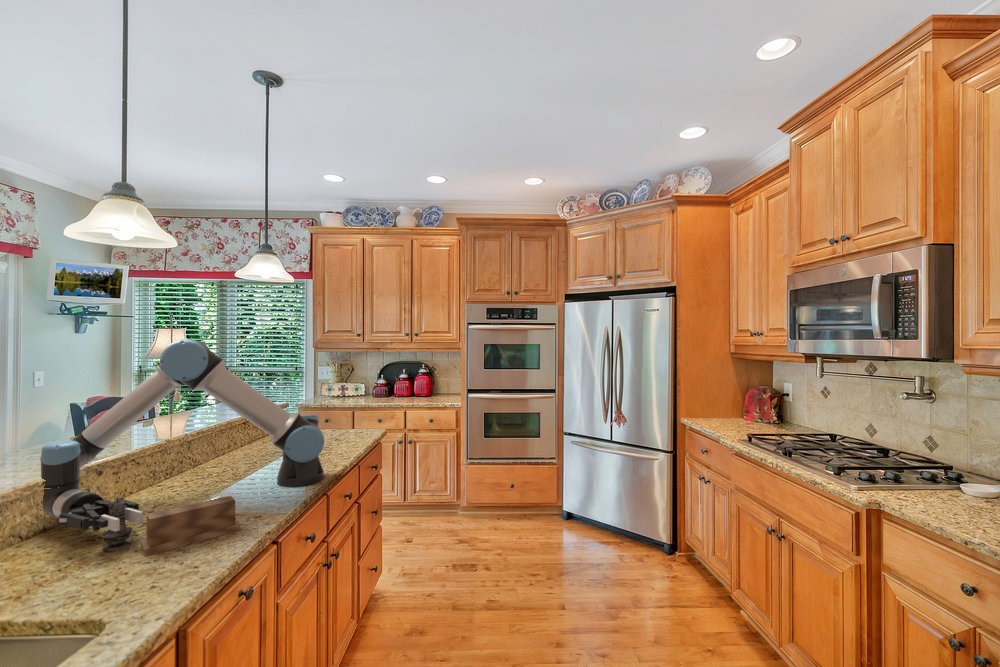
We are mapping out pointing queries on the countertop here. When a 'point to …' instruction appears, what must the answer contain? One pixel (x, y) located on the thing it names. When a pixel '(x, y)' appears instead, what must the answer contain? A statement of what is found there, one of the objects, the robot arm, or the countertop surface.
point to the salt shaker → (119, 537)
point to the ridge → (189, 524)
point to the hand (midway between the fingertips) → (129, 521)
